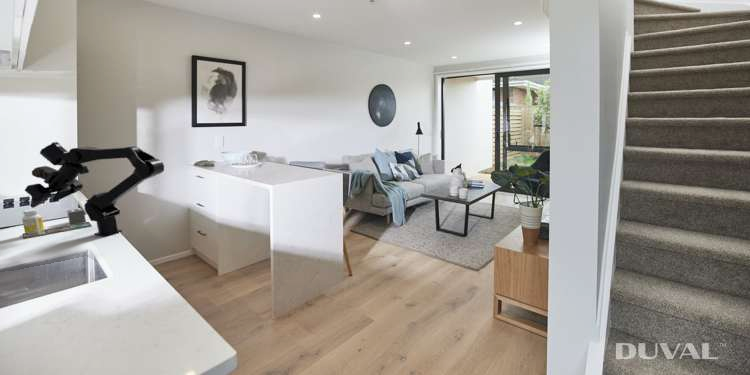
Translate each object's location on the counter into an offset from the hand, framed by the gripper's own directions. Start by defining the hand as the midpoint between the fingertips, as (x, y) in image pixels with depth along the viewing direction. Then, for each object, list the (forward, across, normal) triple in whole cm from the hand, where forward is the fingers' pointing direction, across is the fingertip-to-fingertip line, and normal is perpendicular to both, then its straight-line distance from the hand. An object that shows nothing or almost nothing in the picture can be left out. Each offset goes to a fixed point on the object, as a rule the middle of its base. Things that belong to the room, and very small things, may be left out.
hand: (43, 203), depth 136 cm
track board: (+9, -5, +8) cm, 13 cm away
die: (+10, -16, +7) cm, 20 cm away
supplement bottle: (+12, 0, +5) cm, 13 cm away
